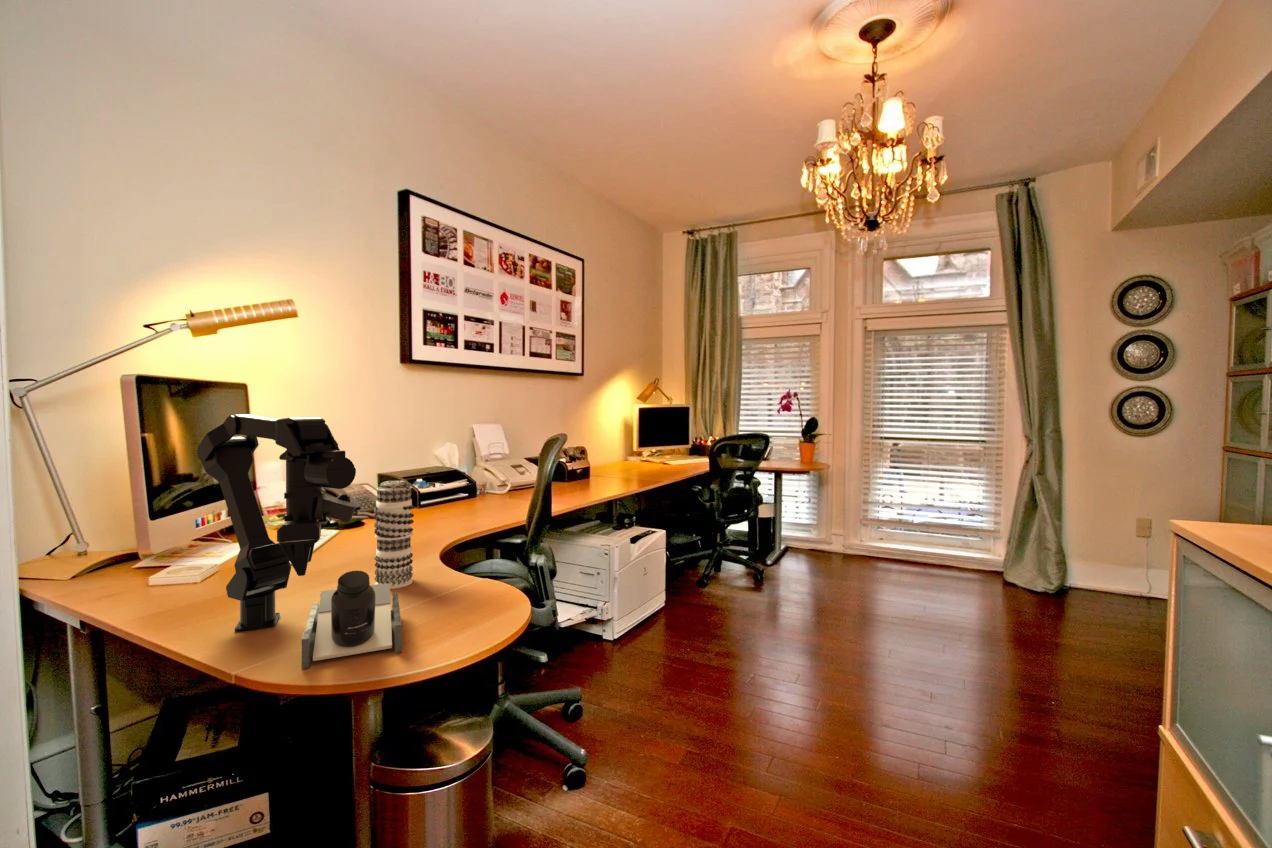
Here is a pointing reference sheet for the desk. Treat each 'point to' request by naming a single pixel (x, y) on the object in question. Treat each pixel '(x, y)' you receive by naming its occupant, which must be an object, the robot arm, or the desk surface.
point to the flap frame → (311, 627)
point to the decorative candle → (393, 534)
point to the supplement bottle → (353, 610)
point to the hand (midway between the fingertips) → (304, 568)
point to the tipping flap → (378, 641)
